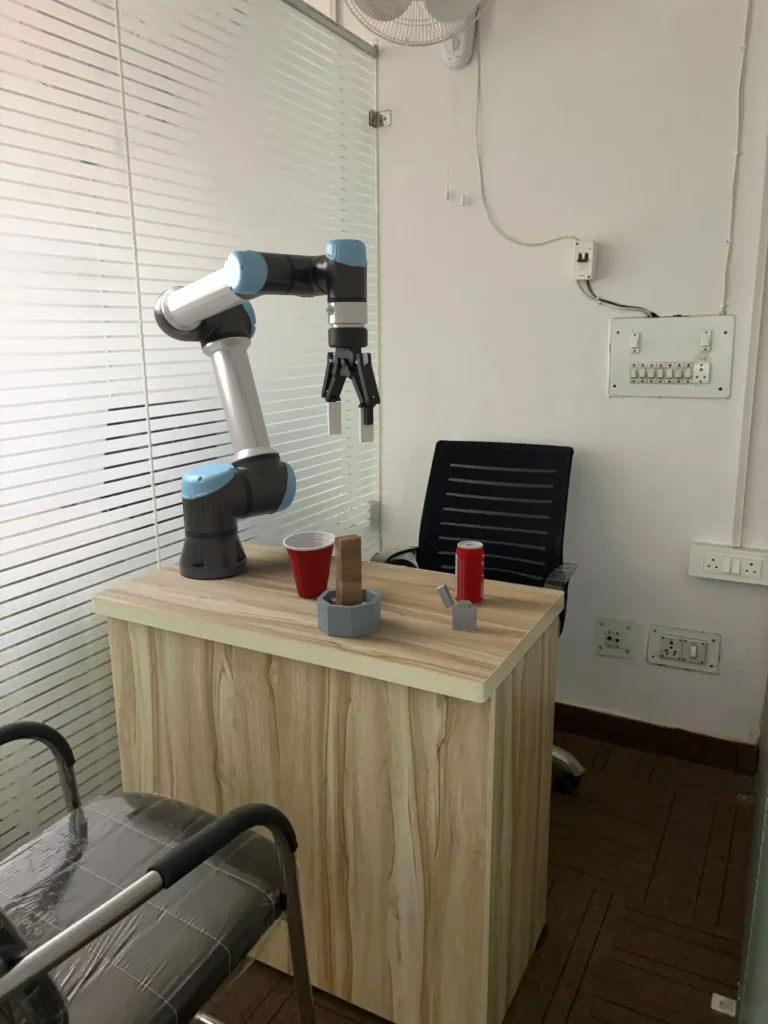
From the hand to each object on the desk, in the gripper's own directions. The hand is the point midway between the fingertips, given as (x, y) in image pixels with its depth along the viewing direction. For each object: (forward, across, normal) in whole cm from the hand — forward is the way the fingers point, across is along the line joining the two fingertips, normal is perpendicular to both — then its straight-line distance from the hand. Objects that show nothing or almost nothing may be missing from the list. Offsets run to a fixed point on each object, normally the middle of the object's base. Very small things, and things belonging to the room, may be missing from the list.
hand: (350, 438), depth 145 cm
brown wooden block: (+31, +16, -9) cm, 36 cm away
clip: (+32, +16, -9) cm, 37 cm away
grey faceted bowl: (+32, +16, -9) cm, 37 cm away
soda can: (+32, +17, +17) cm, 40 cm away
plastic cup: (+32, -3, -8) cm, 33 cm away
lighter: (+32, +27, +7) cm, 42 cm away
